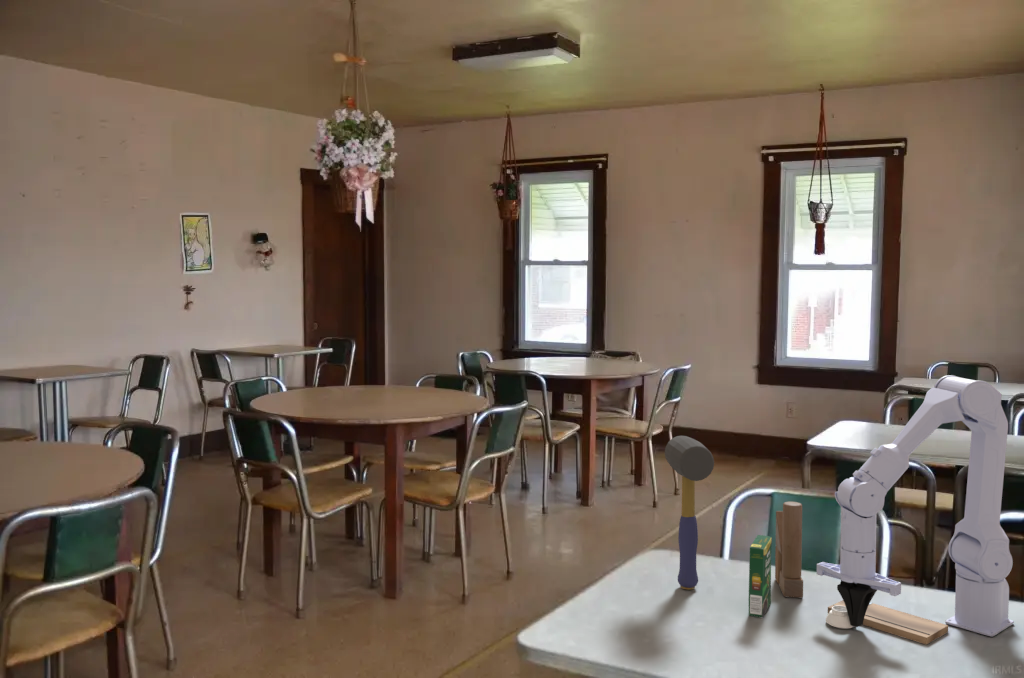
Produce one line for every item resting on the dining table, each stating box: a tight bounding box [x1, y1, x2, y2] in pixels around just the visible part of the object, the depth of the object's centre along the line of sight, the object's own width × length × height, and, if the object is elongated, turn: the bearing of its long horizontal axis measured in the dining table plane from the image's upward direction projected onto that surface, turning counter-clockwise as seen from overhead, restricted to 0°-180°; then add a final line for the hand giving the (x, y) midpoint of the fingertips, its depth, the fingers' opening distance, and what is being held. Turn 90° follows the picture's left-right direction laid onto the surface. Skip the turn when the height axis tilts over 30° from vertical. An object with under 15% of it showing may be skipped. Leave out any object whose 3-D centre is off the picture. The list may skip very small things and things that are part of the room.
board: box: [827, 599, 949, 645], centre depth 154 cm, size 8×18×1 cm, turn 40°
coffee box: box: [748, 534, 773, 619], centre depth 160 cm, size 8×3×13 cm, turn 153°
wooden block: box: [774, 501, 804, 599], centre depth 171 cm, size 4×11×18 cm, turn 172°
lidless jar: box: [825, 605, 855, 630], centre depth 153 cm, size 5×3×5 cm
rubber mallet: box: [664, 435, 715, 591], centre depth 171 cm, size 12×8×30 cm, turn 4°
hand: (856, 624), depth 151 cm, fingers closed
